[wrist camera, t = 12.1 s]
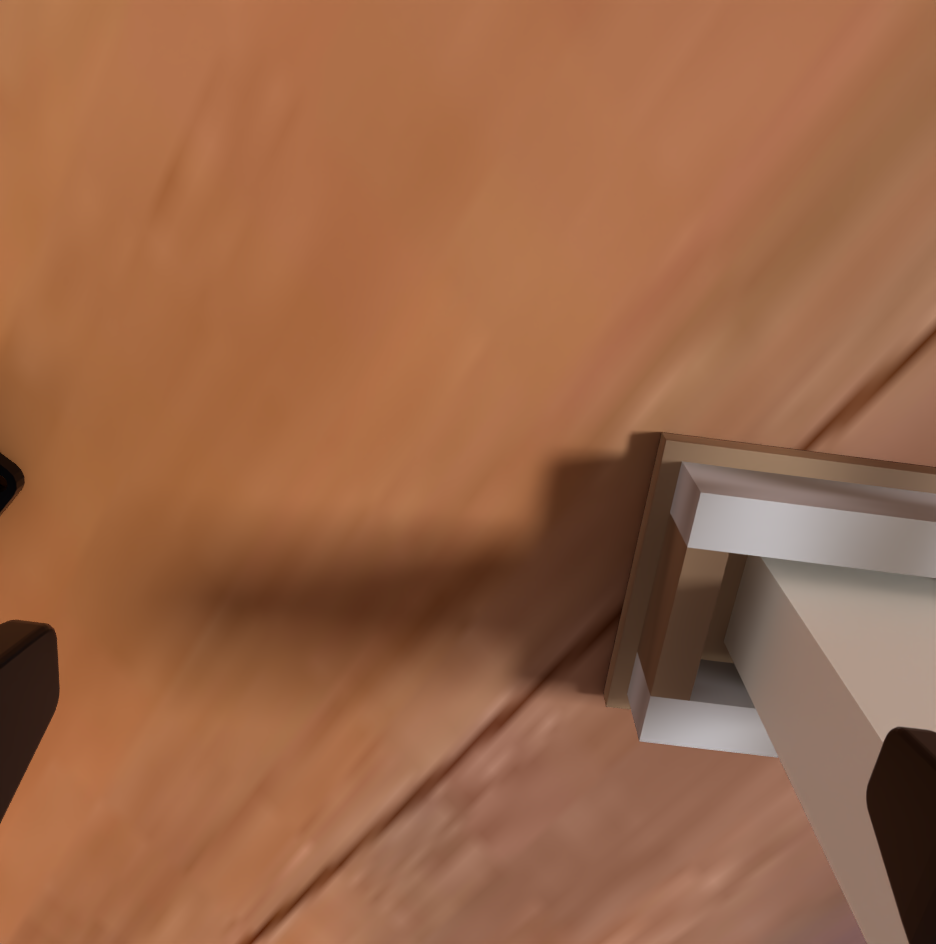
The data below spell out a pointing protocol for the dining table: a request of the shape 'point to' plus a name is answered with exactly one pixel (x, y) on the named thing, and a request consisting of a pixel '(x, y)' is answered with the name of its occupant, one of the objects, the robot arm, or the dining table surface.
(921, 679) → the tall cream box
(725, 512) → the track
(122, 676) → the dining table surface
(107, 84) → the dining table surface
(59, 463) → the dining table surface
